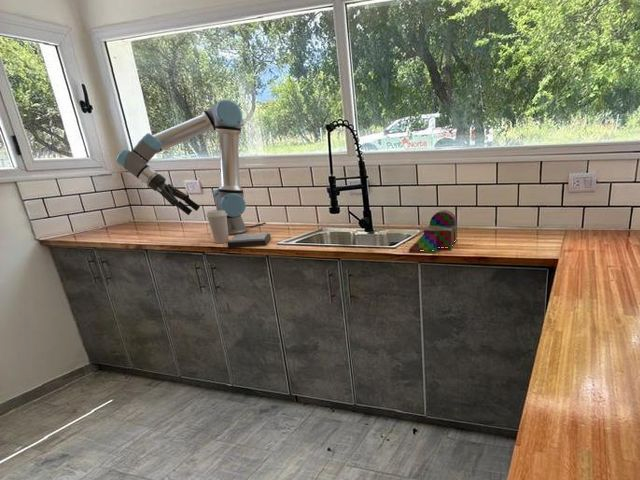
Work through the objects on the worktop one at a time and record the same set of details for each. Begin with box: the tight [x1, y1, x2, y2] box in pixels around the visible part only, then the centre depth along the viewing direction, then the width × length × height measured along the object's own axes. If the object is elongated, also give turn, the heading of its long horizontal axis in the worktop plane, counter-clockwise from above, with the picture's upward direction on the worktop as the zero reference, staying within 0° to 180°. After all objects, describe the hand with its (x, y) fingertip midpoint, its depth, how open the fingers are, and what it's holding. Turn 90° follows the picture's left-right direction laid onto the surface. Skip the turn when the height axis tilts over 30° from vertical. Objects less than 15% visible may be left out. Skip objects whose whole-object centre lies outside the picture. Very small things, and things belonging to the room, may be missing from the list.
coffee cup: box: [205, 209, 230, 244], centre depth 218 cm, size 10×10×15 cm
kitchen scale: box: [226, 232, 272, 249], centre depth 217 cm, size 18×17×3 cm
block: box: [408, 209, 458, 254], centre depth 196 cm, size 25×17×14 cm
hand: (194, 210), depth 214 cm, fingers open, 13 cm apart
